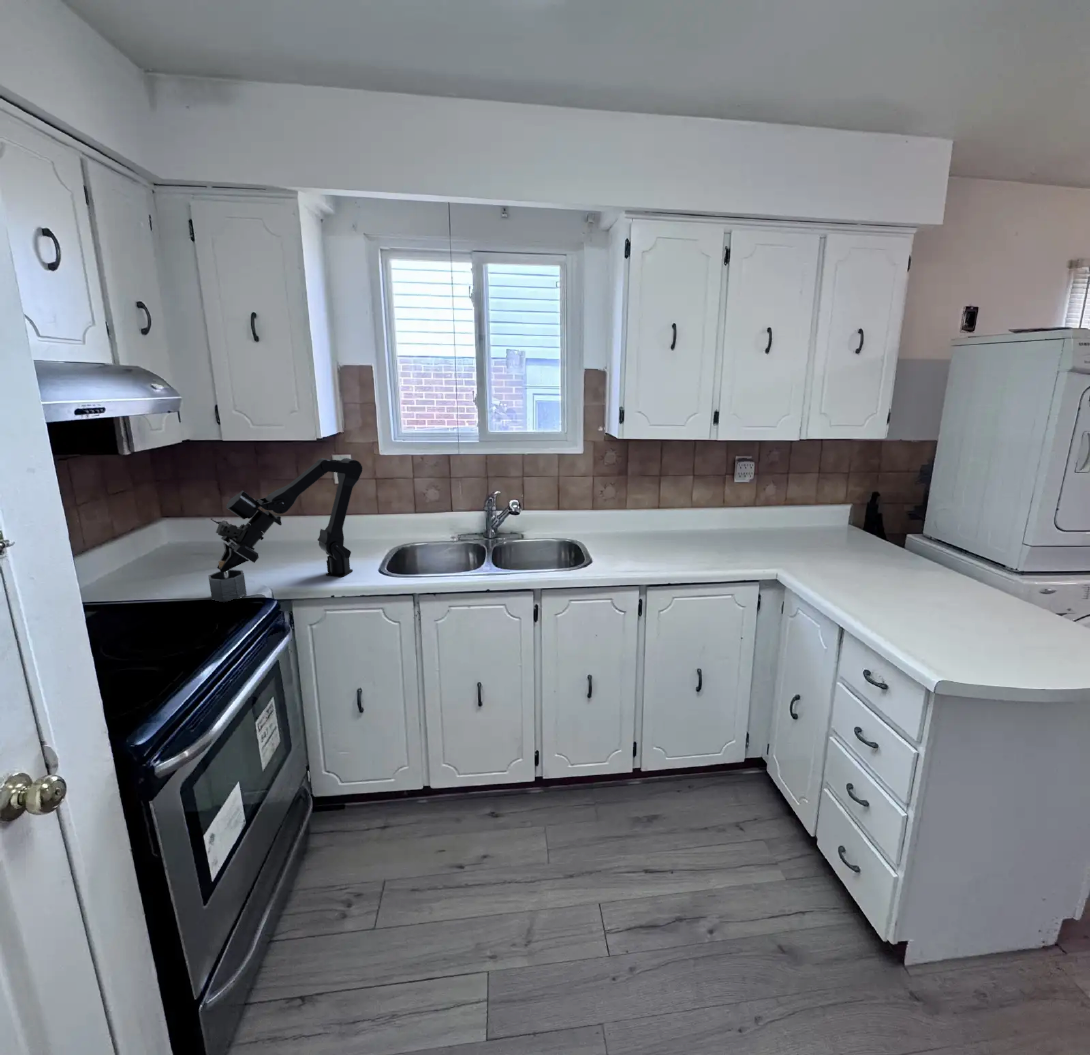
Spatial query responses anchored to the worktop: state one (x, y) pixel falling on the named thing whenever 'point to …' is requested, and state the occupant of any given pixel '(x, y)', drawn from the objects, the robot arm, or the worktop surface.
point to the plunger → (221, 567)
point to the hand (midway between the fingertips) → (219, 570)
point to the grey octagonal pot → (227, 586)
